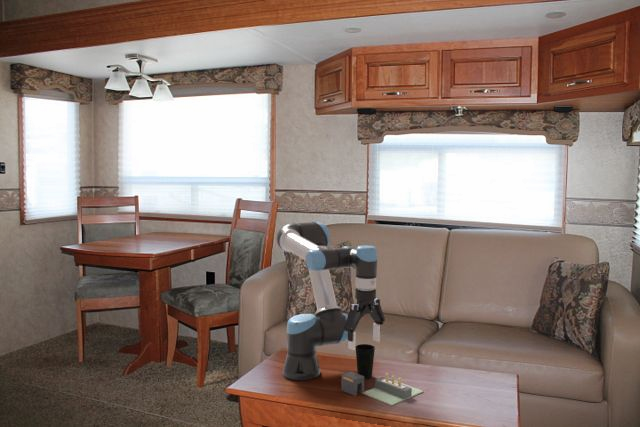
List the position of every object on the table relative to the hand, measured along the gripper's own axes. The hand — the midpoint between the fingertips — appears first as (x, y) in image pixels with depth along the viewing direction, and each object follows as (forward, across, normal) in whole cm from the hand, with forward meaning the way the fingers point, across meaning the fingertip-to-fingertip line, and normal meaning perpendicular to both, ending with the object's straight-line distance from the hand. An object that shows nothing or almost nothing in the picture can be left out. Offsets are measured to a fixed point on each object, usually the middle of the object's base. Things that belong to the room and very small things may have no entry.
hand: (364, 345), depth 199 cm
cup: (+18, +12, +10) cm, 24 cm away
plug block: (+18, -2, +3) cm, 18 cm away
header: (+18, +7, -8) cm, 21 cm away
